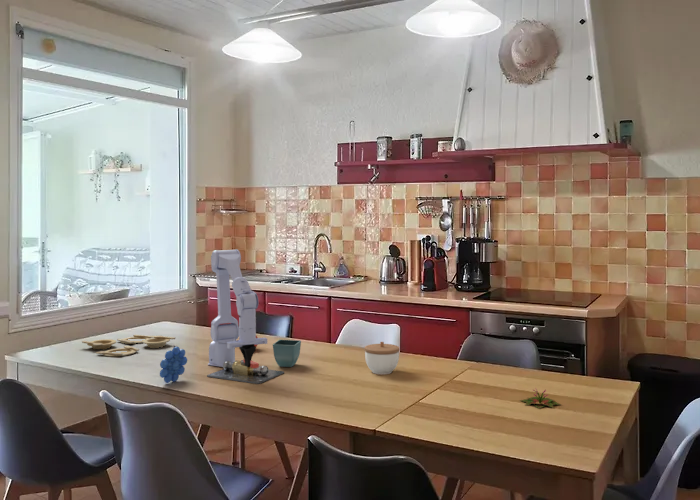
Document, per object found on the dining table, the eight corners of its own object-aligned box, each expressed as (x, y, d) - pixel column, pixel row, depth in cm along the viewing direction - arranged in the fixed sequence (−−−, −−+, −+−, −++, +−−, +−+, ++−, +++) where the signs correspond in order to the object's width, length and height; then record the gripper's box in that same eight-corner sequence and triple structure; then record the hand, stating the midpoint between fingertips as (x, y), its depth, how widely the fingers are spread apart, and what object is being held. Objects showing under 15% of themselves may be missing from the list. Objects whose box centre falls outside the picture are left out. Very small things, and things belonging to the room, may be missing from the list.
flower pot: (295, 369, 232) (294, 345, 231) (272, 367, 233) (272, 344, 233) (301, 363, 240) (301, 340, 240) (279, 362, 242) (279, 339, 241)
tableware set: (142, 337, 292) (142, 328, 292) (183, 345, 275) (183, 335, 275) (71, 351, 264) (71, 341, 264) (112, 360, 247) (112, 350, 247)
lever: (239, 363, 225) (239, 357, 225) (247, 362, 226) (247, 356, 226) (251, 370, 215) (251, 364, 215) (260, 368, 217) (260, 363, 217)
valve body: (207, 376, 221) (206, 364, 221) (234, 366, 235) (234, 355, 235) (259, 384, 211) (258, 371, 211) (284, 373, 226) (284, 361, 225)
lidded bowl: (404, 369, 230) (404, 340, 229) (391, 378, 219) (392, 346, 218) (372, 366, 235) (372, 337, 235) (359, 374, 224) (359, 343, 223)
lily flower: (538, 413, 182) (538, 397, 182) (511, 401, 193) (511, 387, 193) (569, 407, 187) (569, 392, 187) (542, 396, 198) (542, 382, 198)
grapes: (178, 376, 222) (177, 342, 221) (191, 378, 218) (191, 344, 217) (151, 383, 212) (151, 348, 211) (165, 386, 208) (164, 351, 208)
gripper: (233, 331, 210) (233, 371, 210) (271, 327, 218) (271, 365, 219) (224, 328, 215) (224, 367, 216) (262, 324, 224) (262, 361, 225)
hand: (247, 366), depth 218 cm, fingers closed, pressing on lever
